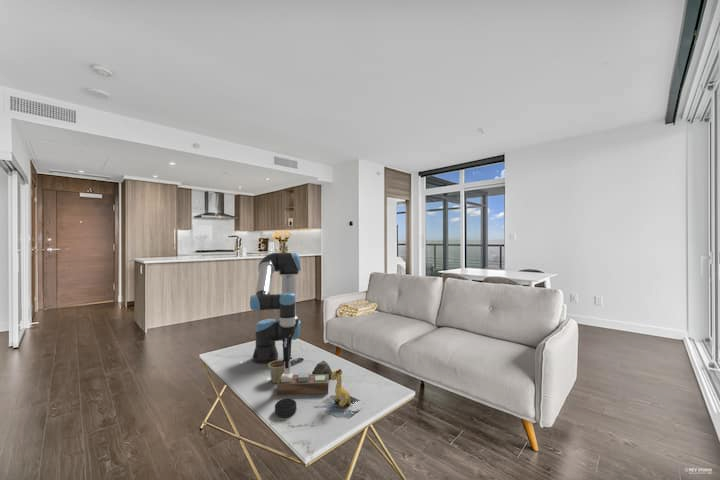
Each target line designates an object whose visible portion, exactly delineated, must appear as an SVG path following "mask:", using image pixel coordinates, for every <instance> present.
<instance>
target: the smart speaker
mask: <svg viewBox="0 0 720 480" xmlns="http://www.w3.org/2000/svg"><path fill="white" fill-rule="evenodd" d="M296 411H297V401H296V400H294V399H292V398H283V399H280V400H277V402H276V403H275V404H274V414H275V415H276V416H277V417H279V418H288V417H291V416H293V415H294V414H295V413H296Z"/></svg>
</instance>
